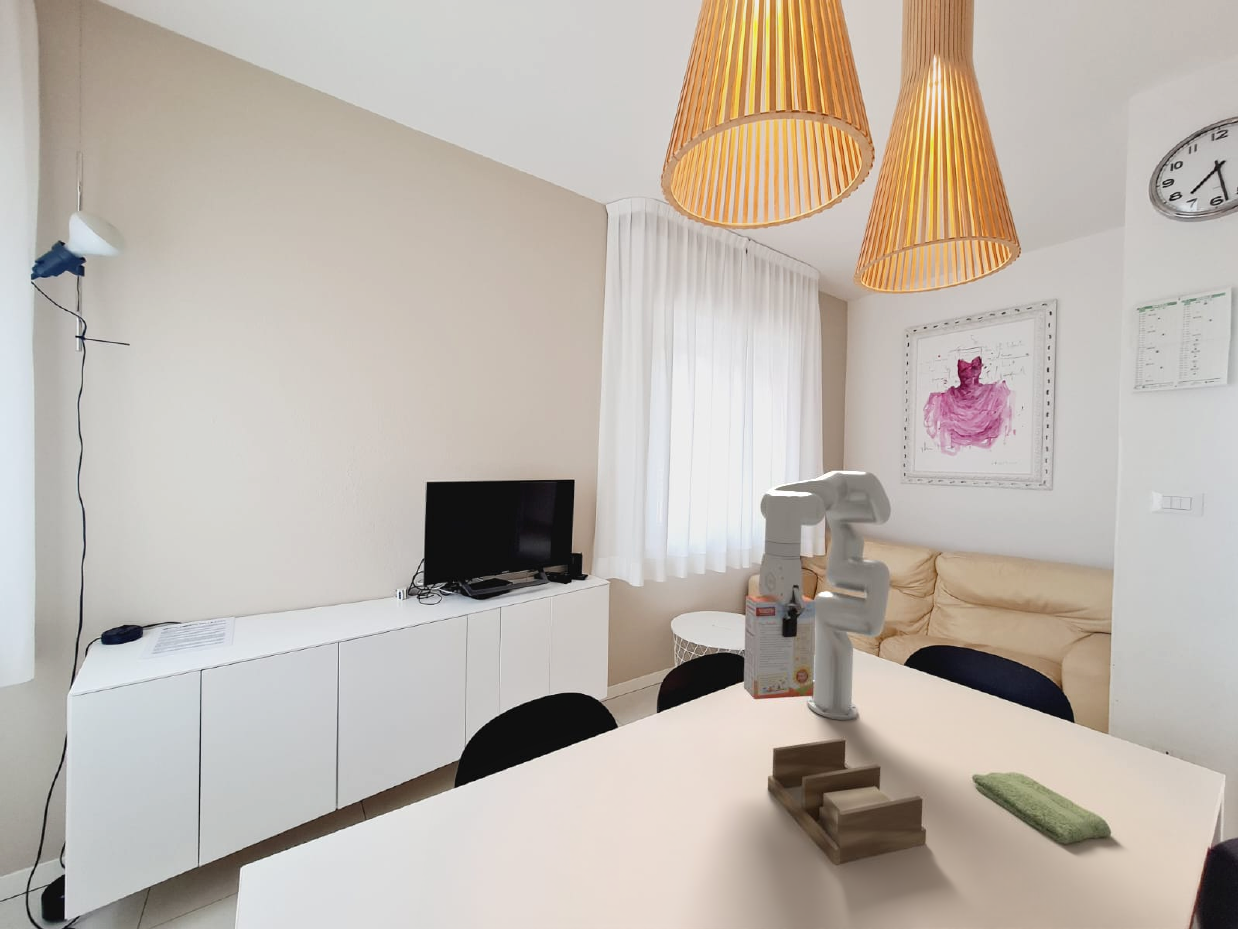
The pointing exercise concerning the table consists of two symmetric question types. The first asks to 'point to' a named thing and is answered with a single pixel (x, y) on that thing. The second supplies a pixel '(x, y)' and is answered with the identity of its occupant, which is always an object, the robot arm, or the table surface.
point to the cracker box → (778, 650)
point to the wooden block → (846, 805)
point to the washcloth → (1041, 807)
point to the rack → (858, 827)
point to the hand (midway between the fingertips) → (779, 630)
